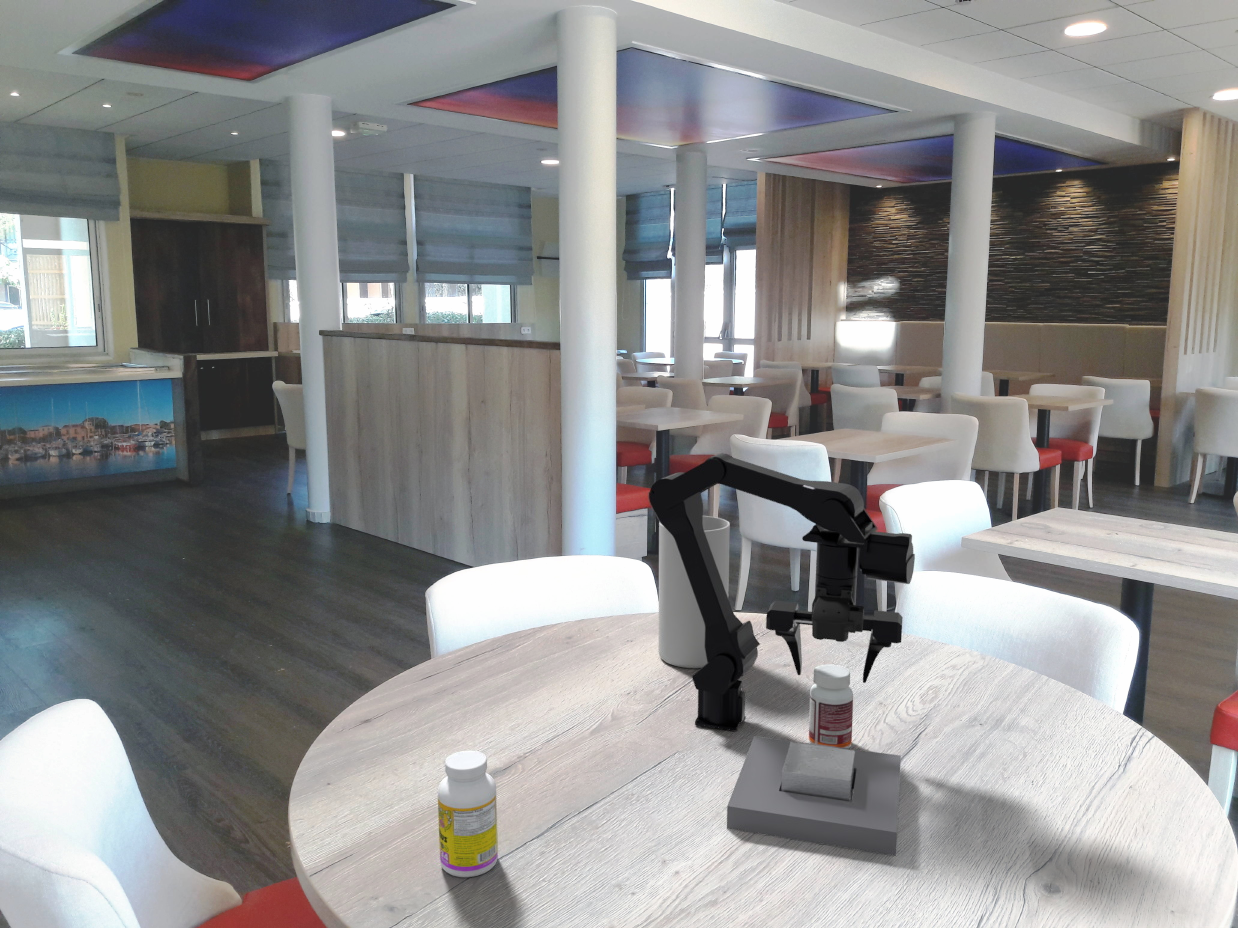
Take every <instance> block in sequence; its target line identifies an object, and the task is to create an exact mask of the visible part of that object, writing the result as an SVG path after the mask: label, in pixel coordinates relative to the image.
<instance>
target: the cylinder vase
mask: <svg viewBox="0 0 1238 928" xmlns="http://www.w3.org/2000/svg"><path fill="white" fill-rule="evenodd" d="M658 522H659V521H658ZM730 524H731V522H729V521H728V520H726V519H724V518H721V517H715V516H710V515H709V516H708V515H703V529H704V532H705V535H706V538H707V541H708V543H709V546H710V549H711V552H712V555H713V557H714V560H715V563H716V566H717V569H718V572H719V574H720V577H721V580H722V583H723V586H724V588H725V591H726V594H727V597H728V598H729V590H730V589H729V587H730V581H729V579H730V533H731V532H730V529H731V528H730V526H731V525H730ZM658 526H659V527H658V645H657V646H658V651H657V652H658V655H659V657H660V659H661V660H662V661H664V662H665V663H666V664H668V665H672V666H675V667H678V668H685V669H701V668H702V667H703V666H704V665H705V664H707V659H706V654H705V648H704V641H705V625H704V621H703V618H702V616H701V613H700V610H699V607H698V604H697V602H696V599H695V596H694V593H693V590H692V587H691V585H690V582H689V579H688V576H687V573H686V571H685V568H684V565H683V562H682V559H681V557H680V554H679V551H678V548H677V545H676V542H675V540H674V538H673V536H672V535H671V534H670V533H669V532H668V531H667V529H666V528H665V527H664V526H663V525H662V524H661V523H660V522H659V523H658Z"/></svg>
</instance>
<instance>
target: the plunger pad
mask: <svg viewBox="0 0 1238 928" xmlns="http://www.w3.org/2000/svg"><path fill="white" fill-rule="evenodd" d="M854 761H855V751H854V750H846V749H839V748H831V747H824V746H816V745H809V744H801V743H794V742H791V743H790V746H789V749H788V753H787V756H786V759H785V763H784V766H783V769H782V787H781V791H782V792H788V793H795V794H802V795H809V796H815V797H822V798H829V799H835V800H842V801H849V802H851V795H852V790H853V789H852V782H853V775H854Z"/></svg>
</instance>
